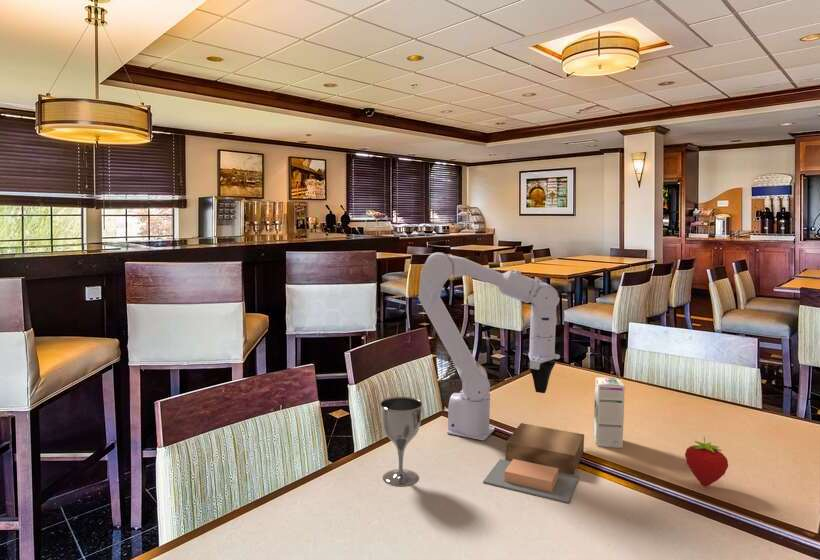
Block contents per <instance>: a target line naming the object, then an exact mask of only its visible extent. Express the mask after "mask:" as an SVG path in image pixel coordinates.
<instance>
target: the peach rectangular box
mask: <svg viewBox="0 0 820 560" xmlns="http://www.w3.org/2000/svg"><path fill="white" fill-rule="evenodd" d="M557 479H558V468H554V467H549V466H544V465H540V464H535V463H530V462H525V461H521V460H516V459H513V460H512V461H511V463H510V464H509V466H508V467H507V468H506V470H505V473H504V481H506V482H510V483H515V484H519V485H523V486H528V487H532V488H536V489H540V490H545V491H549V492H552V490H553V488H554V486H555V484H556V482H557Z"/></svg>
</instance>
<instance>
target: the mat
mask: <svg viewBox="0 0 820 560" xmlns="http://www.w3.org/2000/svg"><path fill="white" fill-rule="evenodd" d="M510 463H511V461H508V460H505V459H502V458H499V460H497V462H496V464H495V465H494V467H492V469H491V470H490V472H489V473H488V474H487V476H486V477H485V478H484V480H483V481H482V483H483V484H487V485H491V486H493V487H494V486H495V487H500V488H503V489H508V490H511V491H512V490H513V491H516V492H520V493H524V494H529V495H533V496H536V497H537V496H538V497H541V498H543V499H544V498H545V499H549V500H552V501H553V500H554V501H557V502H561V503H565V504H569V503H570V500H571V497H572V495H573V492H574V489H575V487H576V485H577V483H578V479H579V475H577V474H574V475H573V474H568V473H564V472H559V471H558V479H557V482H556V484H555V486H554V488H553V490H552V492H549V491H545V490H540V489H536V488H532V487H528V486H523V485H519V484H515V483H510V482H506V481H504V473H505V470H506V468H507V467H508V466H509V464H510Z"/></svg>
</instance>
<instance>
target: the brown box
mask: <svg viewBox="0 0 820 560" xmlns="http://www.w3.org/2000/svg"><path fill="white" fill-rule="evenodd" d="M584 444H585V434H584V433H578V432H573V431H566V430H561V429H556V428H551V427H545V426H539V425H533V424H528V423H524V422H521V423H519V425H518V426H517V427H516V429H515V430H514V431H513V432H512V433H511V435H510V436H509V438H508V439H507V440H506V441H505V456H504V457H505V459H504V460H508V461H512V460H513V459H516V460H521V461H525V462H530V463H535V464H540V465H544V466H549V467H554V468H558V471H559V472H564V473H568V474H573V475H575V473H576V471H577V469H578V467H579V464H580V462H581V459H582V457H583V454H584V449H585V447H584ZM581 456H582V457H581Z"/></svg>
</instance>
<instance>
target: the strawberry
mask: <svg viewBox="0 0 820 560" xmlns="http://www.w3.org/2000/svg"><path fill="white" fill-rule="evenodd" d="M705 437H706V436H703V442H700V441H697V440H694V441H693V442H694V443H696V444H698V445H690V446H688V447H686V450H685V453H684V456H685V461H686V465H687V466H688V468H689V469H690V471H691V473H692V474H693V476H694V477H695V478H696V479H697V481H698V482H699V484H700V485H701V486H702V487H709V486H710V485H712V484H713V483H715V482H717V481H718V480H719V479H721V478H722V477H723V476H725V474H726V472H727V470H728V467H729V461H728V459H727V457H726V456H725V454H724V453H722V451H723V450H722V449H720V448H719V446H717V445H713V444H712V442H707V443H706V439H705Z"/></svg>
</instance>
